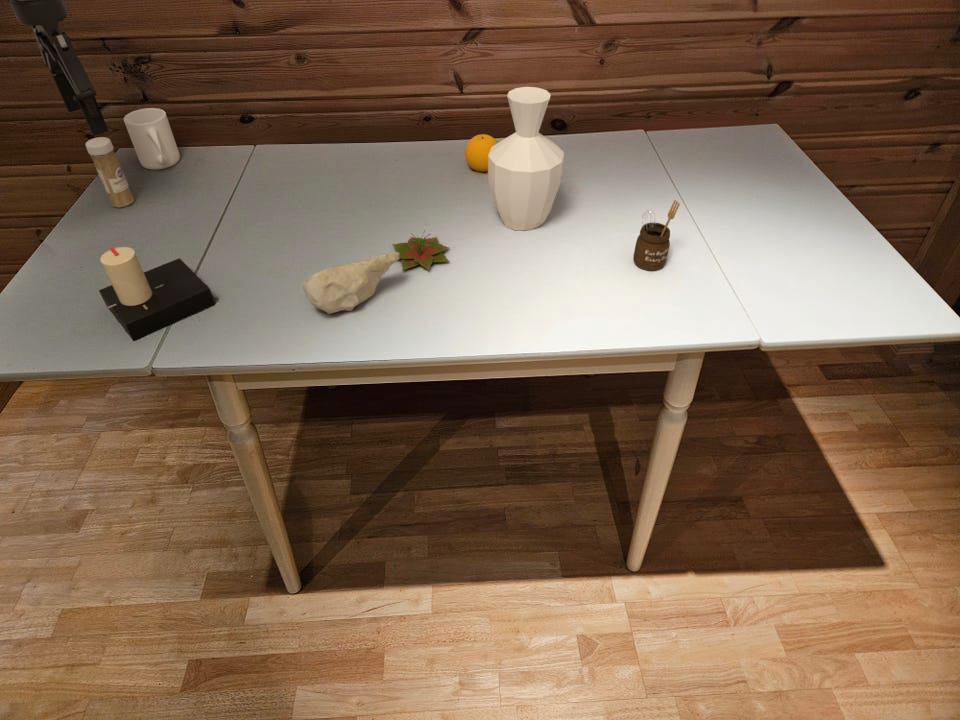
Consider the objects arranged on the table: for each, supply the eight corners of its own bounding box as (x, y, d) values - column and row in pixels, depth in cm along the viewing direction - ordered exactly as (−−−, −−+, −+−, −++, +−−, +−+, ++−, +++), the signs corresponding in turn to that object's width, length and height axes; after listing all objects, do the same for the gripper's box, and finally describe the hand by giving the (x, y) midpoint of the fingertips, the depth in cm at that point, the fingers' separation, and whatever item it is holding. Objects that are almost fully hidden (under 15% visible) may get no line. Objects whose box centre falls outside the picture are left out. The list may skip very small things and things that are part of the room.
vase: (529, 195, 138) (536, 74, 121) (573, 225, 130) (587, 99, 113) (473, 215, 132) (472, 91, 115) (515, 248, 124) (521, 118, 107)
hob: (129, 343, 105) (121, 325, 102) (103, 308, 111) (94, 290, 109) (215, 304, 112) (209, 287, 109) (185, 274, 118) (179, 257, 116)
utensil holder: (626, 257, 122) (637, 199, 113) (656, 250, 123) (668, 193, 115) (642, 274, 118) (654, 216, 109) (673, 267, 119) (687, 209, 111)
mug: (148, 180, 143) (130, 133, 136) (137, 159, 151) (120, 113, 143) (188, 170, 147) (173, 124, 139) (176, 150, 154) (160, 104, 147)
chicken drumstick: (295, 331, 110) (345, 305, 99) (279, 289, 109) (327, 260, 99) (364, 311, 121) (415, 286, 111) (349, 273, 120) (400, 245, 110)
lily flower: (382, 244, 125) (379, 223, 122) (442, 233, 128) (441, 213, 124) (395, 280, 117) (393, 258, 114) (460, 268, 119) (459, 246, 116)
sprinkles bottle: (132, 207, 135) (106, 145, 126) (108, 209, 135) (81, 147, 125) (137, 196, 138) (112, 135, 129) (114, 198, 138) (88, 136, 129)
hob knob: (157, 297, 107) (138, 254, 102) (126, 310, 105) (106, 267, 99) (145, 283, 110) (126, 241, 104) (115, 295, 108) (94, 253, 102)
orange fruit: (504, 162, 149) (505, 130, 144) (494, 178, 144) (495, 145, 139) (471, 157, 151) (471, 125, 146) (460, 173, 146) (459, 140, 140)
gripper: (82, 6, 102) (133, 137, 116) (35, -25, 115) (86, 95, 130) (30, 16, 98) (89, 150, 113) (-12, -17, 112) (46, 106, 126)
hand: (88, 121), depth 121 cm, fingers open, 13 cm apart
